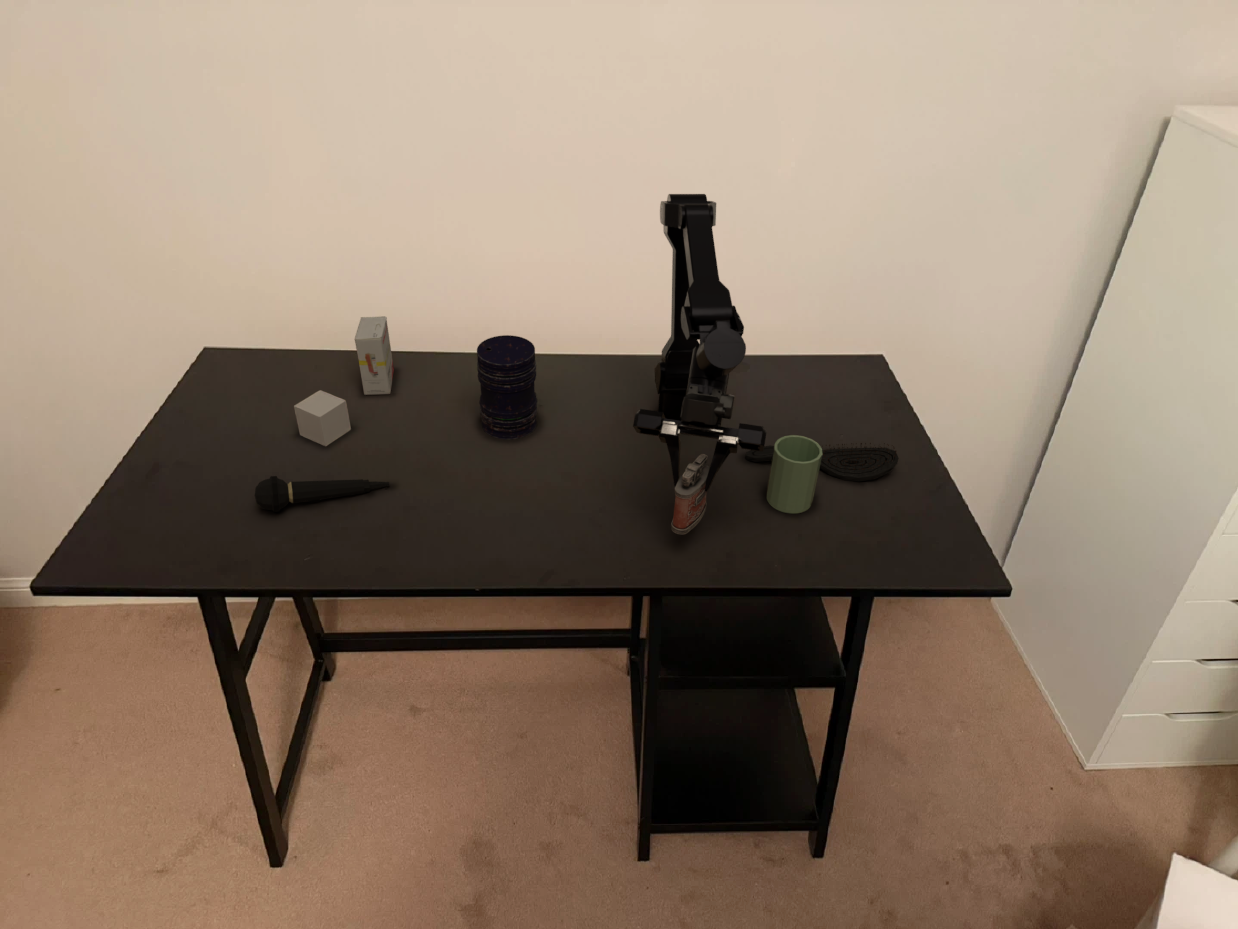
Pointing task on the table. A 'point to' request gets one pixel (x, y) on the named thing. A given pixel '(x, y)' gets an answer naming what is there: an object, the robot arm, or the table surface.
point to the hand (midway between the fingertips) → (690, 489)
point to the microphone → (308, 491)
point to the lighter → (690, 496)
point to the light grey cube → (322, 417)
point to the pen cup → (793, 473)
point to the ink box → (374, 355)
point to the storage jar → (507, 386)
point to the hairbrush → (846, 461)
